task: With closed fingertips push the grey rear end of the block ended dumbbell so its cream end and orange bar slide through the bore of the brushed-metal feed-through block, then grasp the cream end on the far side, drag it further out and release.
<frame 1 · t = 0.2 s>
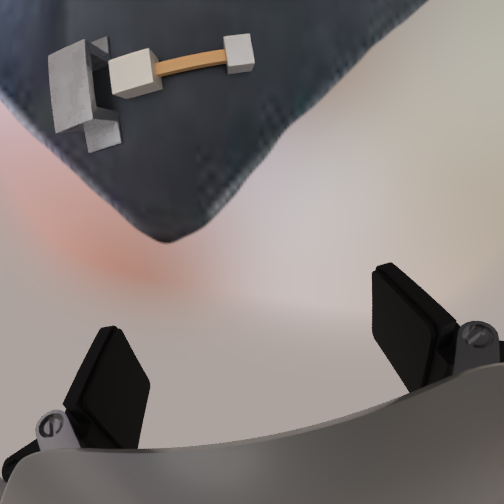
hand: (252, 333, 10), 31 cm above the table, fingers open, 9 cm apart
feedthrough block: (97, 93, 32), on the table
block ended dumbbell: (142, 78, 32), on the table
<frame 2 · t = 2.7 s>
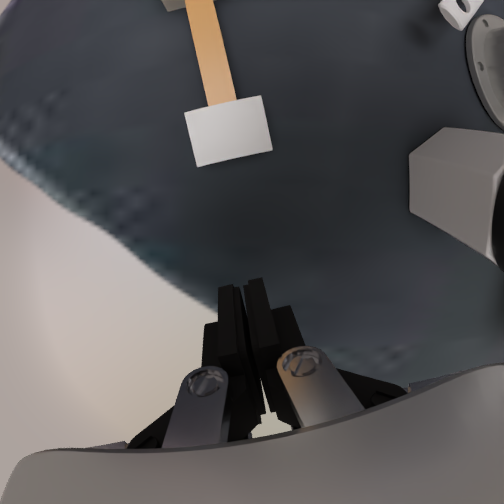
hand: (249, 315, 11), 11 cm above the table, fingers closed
jar: (443, 179, 21), on the table
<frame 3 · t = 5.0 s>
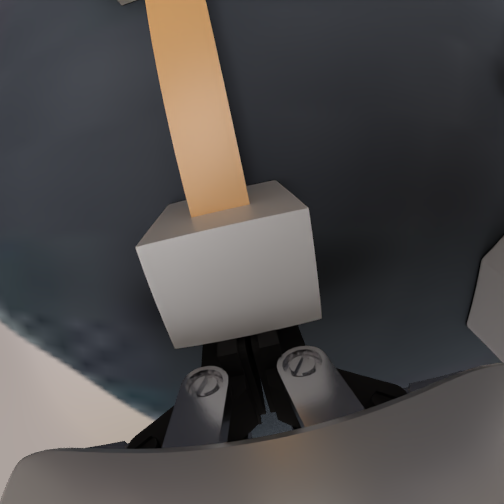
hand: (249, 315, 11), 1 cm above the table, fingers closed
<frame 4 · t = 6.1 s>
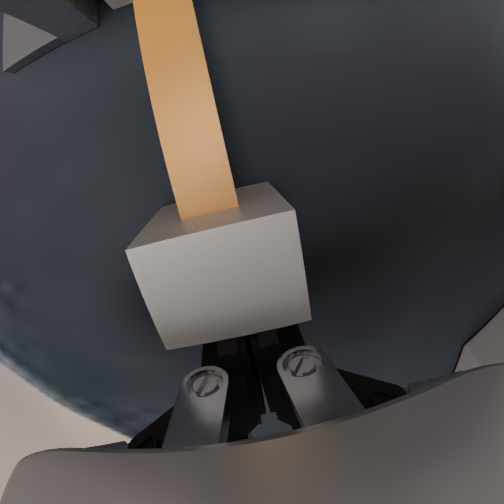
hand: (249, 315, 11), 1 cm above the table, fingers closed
jar: (487, 350, 17), on the table
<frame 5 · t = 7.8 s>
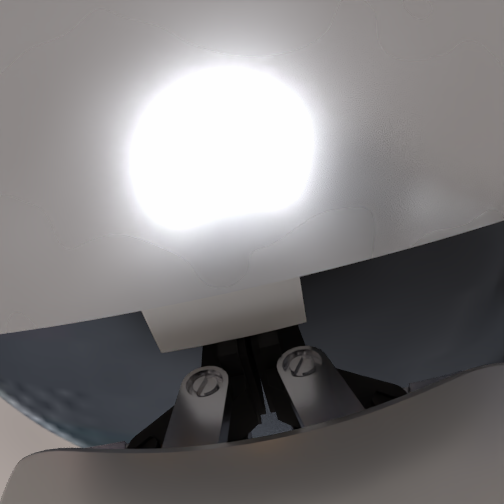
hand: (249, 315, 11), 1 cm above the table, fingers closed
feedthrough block: (201, 107, 10), on the table
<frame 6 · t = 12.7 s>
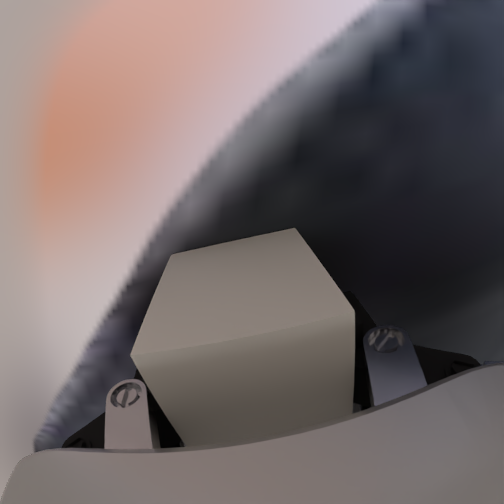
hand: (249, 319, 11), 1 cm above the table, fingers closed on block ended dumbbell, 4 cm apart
block ended dumbbell: (246, 301, 11), on the table, touching gripper
when the fingers open (1 cm above the table, at t = 14.4 s): block ended dumbbell stays where it is, on the table.
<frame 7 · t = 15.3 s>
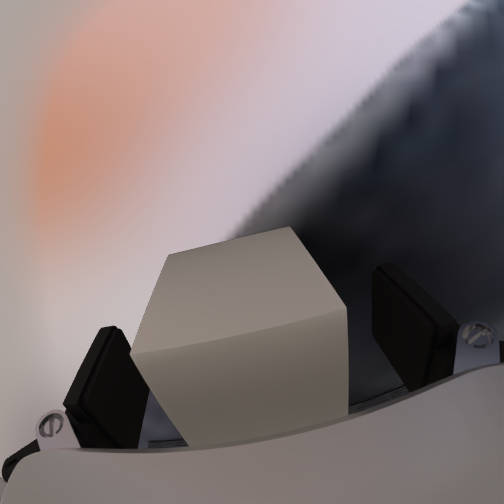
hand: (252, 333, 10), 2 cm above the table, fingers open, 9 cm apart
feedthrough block: (283, 445, 16), on the table
block ended dumbbell: (243, 299, 12), on the table
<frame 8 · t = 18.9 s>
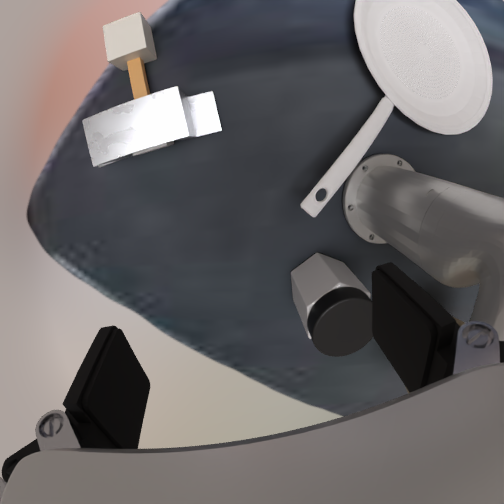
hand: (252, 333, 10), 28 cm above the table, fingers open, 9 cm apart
pan: (393, 85, 33), on the table
jar: (317, 280, 42), on the table
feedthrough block: (153, 128, 33), on the table
block ended dumbbell: (136, 48, 29), on the table
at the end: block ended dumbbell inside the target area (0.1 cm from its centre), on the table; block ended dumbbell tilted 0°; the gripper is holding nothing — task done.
